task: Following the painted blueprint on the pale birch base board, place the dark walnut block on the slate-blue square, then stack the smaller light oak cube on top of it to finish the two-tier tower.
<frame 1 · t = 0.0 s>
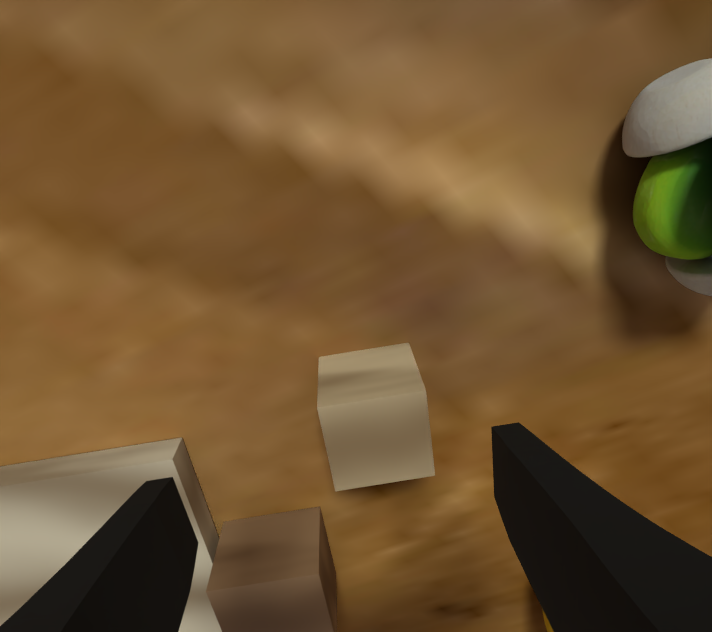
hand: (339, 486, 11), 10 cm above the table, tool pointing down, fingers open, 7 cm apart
base board: (106, 577, 25), on the table
walnut block: (282, 546, 25), on the table
oak cube: (369, 387, 22), on the table
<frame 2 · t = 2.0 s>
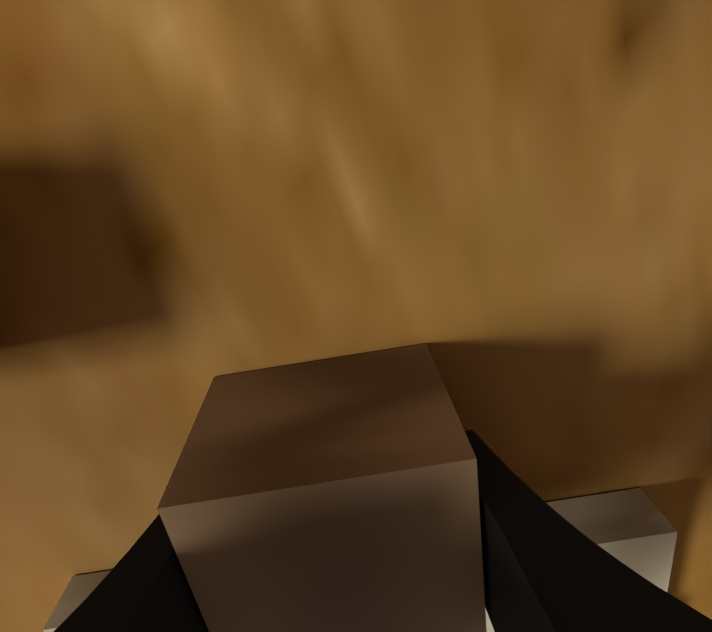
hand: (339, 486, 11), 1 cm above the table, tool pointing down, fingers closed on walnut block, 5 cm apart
walnut block: (337, 445, 12), on the table, touching gripper
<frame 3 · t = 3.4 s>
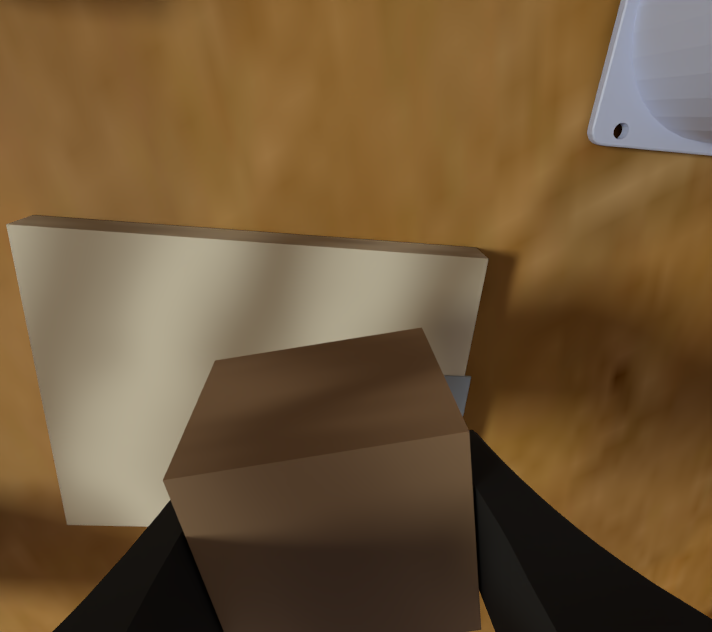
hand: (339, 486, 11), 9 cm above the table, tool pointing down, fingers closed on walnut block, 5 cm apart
base board: (261, 384, 20), on the table
walnut block: (335, 428, 12), point 7 cm above the table, touching gripper
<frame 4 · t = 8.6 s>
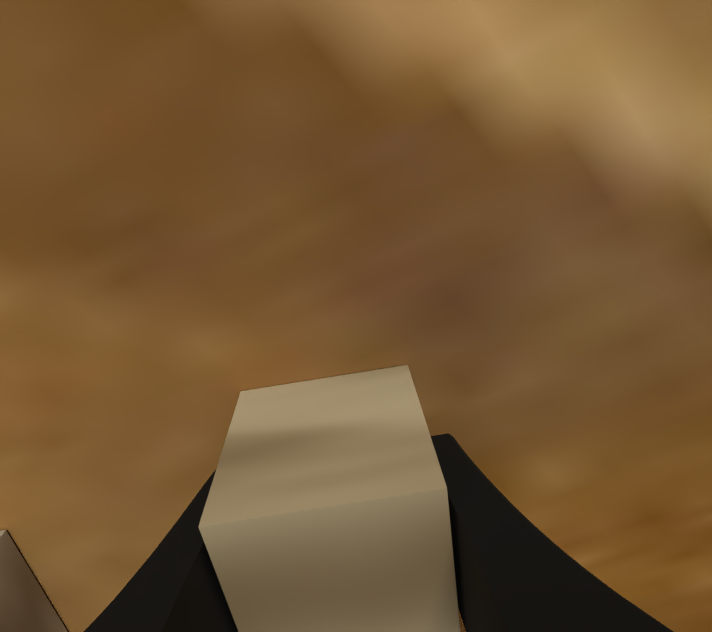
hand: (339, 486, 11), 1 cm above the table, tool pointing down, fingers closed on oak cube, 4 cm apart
oak cube: (337, 445, 12), on the table, touching gripper
when the fingers open (8 cm above the table, at t = 12.2 s): oak cube stays where it is, resting on walnut block.
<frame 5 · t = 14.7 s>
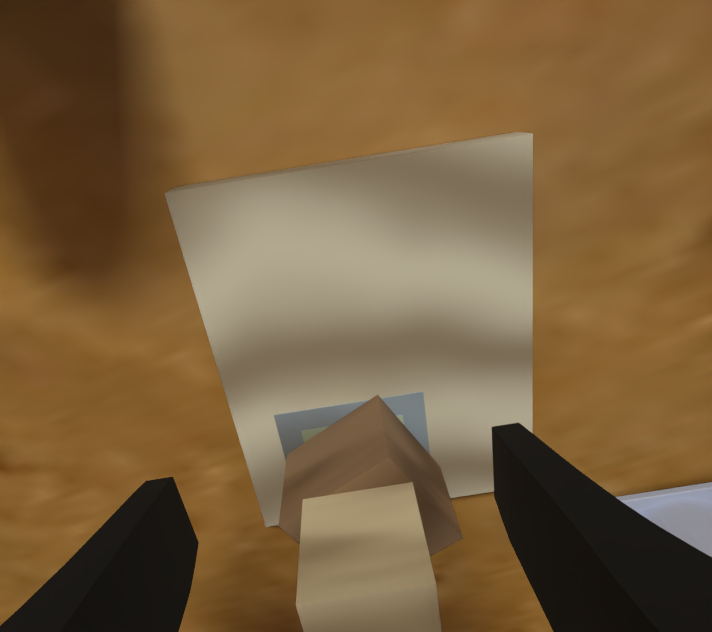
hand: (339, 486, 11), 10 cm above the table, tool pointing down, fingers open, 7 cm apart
base board: (374, 346, 21), on the table
walnut block: (364, 460, 21), point 2 cm above the table, touching base board, oak cube
oak cube: (365, 531, 18), point 6 cm above the table, touching walnut block
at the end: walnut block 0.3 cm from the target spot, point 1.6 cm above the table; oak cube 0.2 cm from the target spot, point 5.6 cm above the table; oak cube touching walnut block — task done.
